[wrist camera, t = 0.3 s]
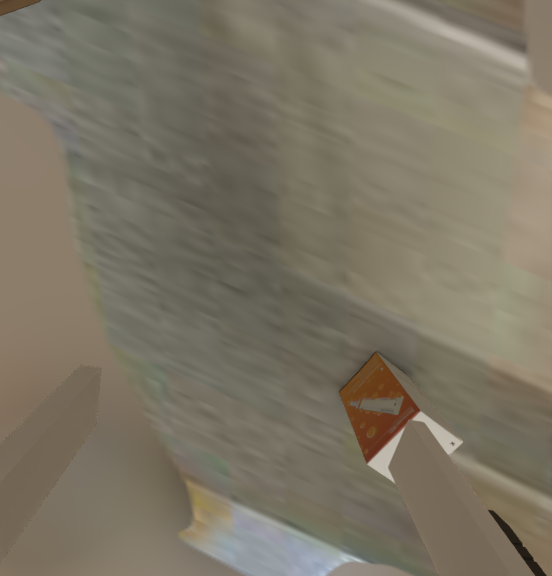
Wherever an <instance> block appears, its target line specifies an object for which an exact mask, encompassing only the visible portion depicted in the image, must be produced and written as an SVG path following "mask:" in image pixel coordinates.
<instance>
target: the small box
mask: <svg viewBox="0 0 552 576" xmlns="http://www.w3.org/2000/svg"><path fill="white" fill-rule="evenodd" d="M339 393H340V396H341V399H342V401H343V404H344V406H345V409H346V412H347V414H348V417H349V419H350V422H351V424H352V427H353V430H354V432H355V435H356V437H357V440H358V442H359V445H360V448H361V450H362V453H363V455H364V458H365V460H366V463H367V464H368V465H369V466H370V467H372V468H373V469H375V470H376V471H378V472H379V473H381V474H382V475H384V476H385V477H386V478H388V479H389V480H391V481H392V482H393V483H395V481H394V479H393V477H392V475H391V473H390V471H389V469H388V466H389V464H390V461H391V459H392V457H393V454H394V452H395V450H396V447H397V445H398V443H399V440H400V438H401V436H402V433H403V431H404V429H405V426H406V424H407V422H408V419H409V420H415V421H421V422H425V424H426V425H427V427H428V428H429V429H430V431H431V432H432V434H433V435H434V436H435V438H436V439H437V441H438V442H439V443H440V445H441V446H442V447H443V449H444V450H445V452H446V453H447V454H448V456H449V455H450V454H451V453H452V452H453V451H454V450H455V449H456V448H457V447H459V446H460V445H461V444H462V443H463V440H462V439H461V438H460V437H459V436H458V435H457V433H456V432H455V431H454V430H453V429H452V427H451V426H450V425H449V424H448V423H447V421H446V420H445V419H444V418H443V417H442V416H441V414H440V413H439V412H438V411H437V410H436V408H435V407H434V406H433V405H432V404H431V402H430V401H429V400H428V399H427V398H426V396H425V395H424V394H423V393H422V392H421V391H420V389H419V388H418V387H417V386H416V385H415V384H414V382H413V381H412V380H411V379H410V378H409V377H408V376H407V375H406V374H404V373H403V372H402V371H401V370H399V369H398V368H397V367H395V366H394V365H393V364H391V363H390V362H389V361H388V360H386V359H385V358H384V357H382V356H381V355H380V354H379V353H377V352H376V353H375V354H374V355H373V356H372V357H371V359H370V360H369V361H368V362H367V363H366V364H365V365H364V366H363V367H362V369H361V370H360V371H359V372H358V373H357V374H356V375H355V376H354V377H353V378H352V379H351V380H350V382H349V383H348V384H347V385H346V386H345V387H344V388H343V389H342V390H341V391H340V392H339Z"/></svg>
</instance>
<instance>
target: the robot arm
mask: <svg viewBox="0 0 552 576" xmlns="http://www.w3.org/2000/svg"><path fill="white" fill-rule="evenodd" d="M100 377H101V368H99V367H93V366H87V365H80V366H79V367H78V368H77V369H76V370H75V371H74V372H73V373H72V374H71V375H70V376H69V377H68V378H67V379H66V380H65V381H64V382H63V383H62V384H61V385H60V386H59V387H58V388H57V389H56V390H55V391H54V392H53V393H52V394H51V395H50V396H49V397H48V398H47V399H45V400H44V402H42V403H41V404H40V405H39V406H38V407H37V408H36V409H35V410H34V411H33V412H32V413H31V414H30V415H29V416H28V417H27V418H26V419H25V420H24V421H23V422H22V423H21V424H20V425H19V426H18V427H17V428H16V429H15V430H14V431H13V432H12V433H11V434H10V435H9V436H8V437H7V438H6V439H5V440H4V441H3V442H2V443H1V444H0V564H1V562H2V561H3V560H4V558H5V557H6V555H7V554H8V552H9V551H10V549H11V548H12V546H13V545H14V544H15V542H16V541H17V539H18V538H19V536H20V535H21V533H22V532H23V531H24V529H25V528H26V526H27V525H28V523H29V522H30V520H31V519H32V517H33V516H34V515H35V513H36V512H37V510H38V509H39V507H40V506H41V504H42V503H43V501H44V500H45V499H46V497H47V496H48V494H49V493H50V491H51V490H52V488H53V487H54V486H55V484H56V483H57V481H58V480H59V478H60V477H61V475H62V474H63V473H64V471H65V470H66V468H67V467H68V465H69V464H70V462H71V460H72V459H73V458H74V456H75V455H76V454H77V452H78V451H79V449H80V448H81V446H82V445H83V444H84V442H85V441H86V439H87V438H88V436H89V435H90V433H91V432H92V431H93V429H94V428H95V426H96V424H97V413H98V402H99V391H100V379H101V378H100ZM388 469H389V471H390V473H391V475H392V477H393V479H394V481H395V484H396V486H397V488H398V490H399V492H400V494H401V496H402V498H403V500H404V503H405V505H406V507H407V509H408V511H409V513H410V515H411V517H412V520H413V522H414V524H415V526H416V528H417V530H418V532H419V534H420V537H421V539H422V541H423V543H424V545H425V547H426V549H427V551H428V553H429V556H430V558H431V560H432V562H433V564H434V566H435V568H436V570H437V573H438V575H439V576H546V574H545V573H544V572H543V570H542V569H541V568H540V566H539V565H538V564H537V562H534V560H533V557H532V556H531V554H530V553H529V552H528V550H527V549H526V548H525V547H523V546H522V542H521V541H520V540H519V538H518V537H517V536H516V534H515V533H514V532H513V530H512V529H511V528H510V526H509V525H508V524H506V523H505V522H504V521H503V520H502V519H501V518H500V517H499V516H498V515H497V514H496V513H495V512H494V511H492V510H487V508H486V507H485V506H484V504H483V503H482V501H481V500H480V499H479V497H478V496H477V495H476V493H475V492H474V490H473V489H472V488H471V486H470V485H469V483H468V482H467V481H466V479H465V478H464V477H463V475H462V474H461V472H460V471H459V470H458V468H457V467H456V465H455V464H454V463H453V461H452V460H451V459H450V457H449V456H448V454H447V453H446V452H445V450H444V449H443V447H442V446H441V445H440V443H439V442H438V441H437V439H436V438H435V436H434V435H433V434H432V432H431V431H430V429H429V428H428V427H427V425H426V424H425V422H421V421H415V420H409V419H408V422H407V424H406V426H405V429H404V431H403V433H402V436H401V438H400V440H399V443H398V445H397V447H396V450H395V452H394V454H393V457H392V459H391V461H390V464H389V466H388Z"/></svg>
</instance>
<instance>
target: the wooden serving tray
mask: <svg viewBox="0 0 552 576" xmlns="http://www.w3.org/2000/svg"><path fill="white" fill-rule="evenodd" d="M39 1H40V0H0V16H1V15H4V14H6V13H9V12H12V11H15V10H17V9H20V8H23V7H26V6H28V5H31V4H34V3H37V2H39Z"/></svg>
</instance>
